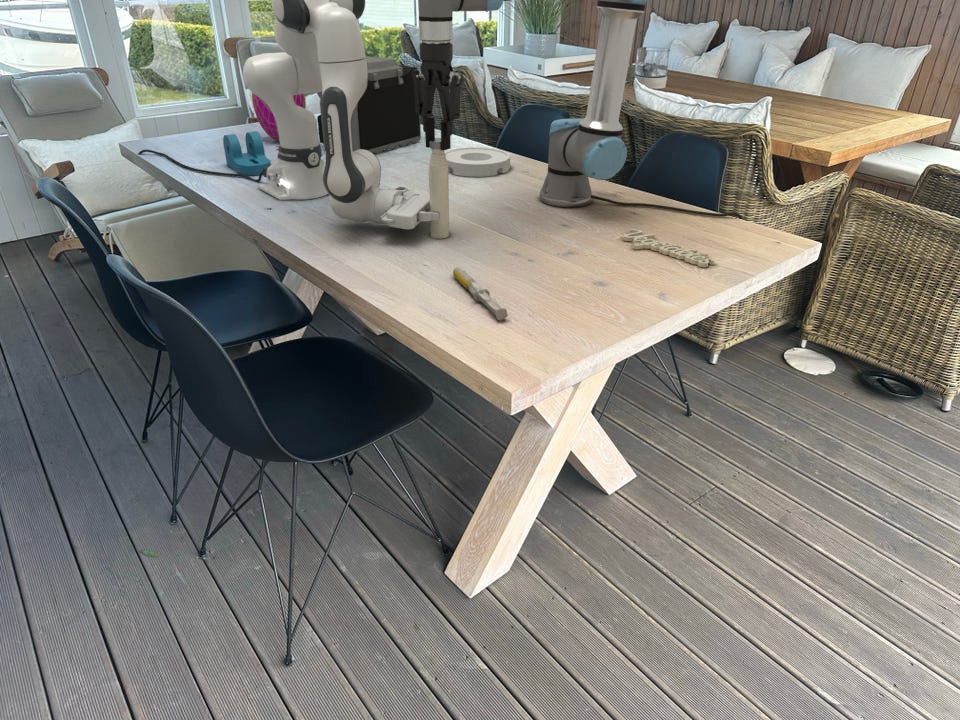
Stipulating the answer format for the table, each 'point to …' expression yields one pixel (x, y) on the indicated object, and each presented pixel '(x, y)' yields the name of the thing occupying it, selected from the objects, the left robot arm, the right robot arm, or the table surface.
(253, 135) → the camera mount
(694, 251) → the decorative sign
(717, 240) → the table surface
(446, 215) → the bottle
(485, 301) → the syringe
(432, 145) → the cap
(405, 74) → the cooler box
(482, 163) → the ashtray
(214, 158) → the table surface
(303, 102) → the decorative egg
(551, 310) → the table surface
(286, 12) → the left robot arm
